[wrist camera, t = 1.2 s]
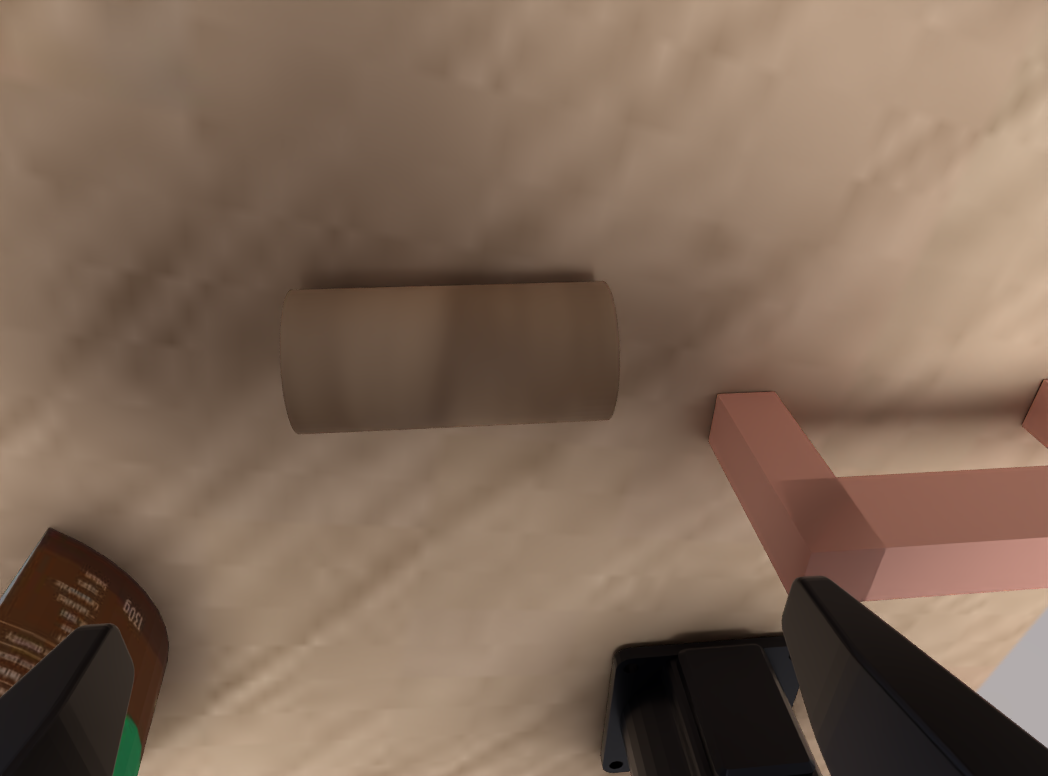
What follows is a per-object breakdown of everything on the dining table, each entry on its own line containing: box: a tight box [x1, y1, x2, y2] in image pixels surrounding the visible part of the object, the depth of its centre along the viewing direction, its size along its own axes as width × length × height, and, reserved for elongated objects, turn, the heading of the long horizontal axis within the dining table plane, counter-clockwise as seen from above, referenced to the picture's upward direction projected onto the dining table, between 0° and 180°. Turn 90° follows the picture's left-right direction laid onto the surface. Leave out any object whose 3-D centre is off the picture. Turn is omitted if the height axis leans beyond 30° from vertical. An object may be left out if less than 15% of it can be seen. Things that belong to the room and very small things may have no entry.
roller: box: [280, 281, 620, 434], centre depth 16 cm, size 3×6×3 cm, turn 89°
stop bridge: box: [708, 380, 1048, 602], centre depth 17 cm, size 2×10×6 cm, turn 89°
